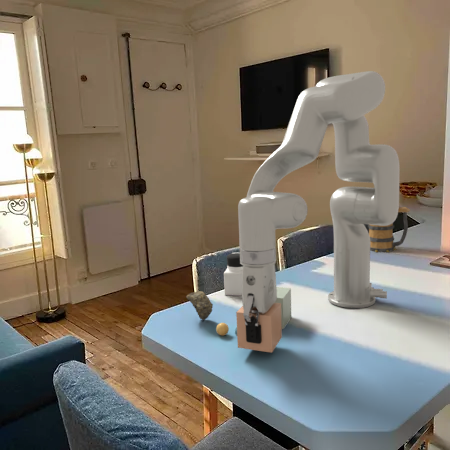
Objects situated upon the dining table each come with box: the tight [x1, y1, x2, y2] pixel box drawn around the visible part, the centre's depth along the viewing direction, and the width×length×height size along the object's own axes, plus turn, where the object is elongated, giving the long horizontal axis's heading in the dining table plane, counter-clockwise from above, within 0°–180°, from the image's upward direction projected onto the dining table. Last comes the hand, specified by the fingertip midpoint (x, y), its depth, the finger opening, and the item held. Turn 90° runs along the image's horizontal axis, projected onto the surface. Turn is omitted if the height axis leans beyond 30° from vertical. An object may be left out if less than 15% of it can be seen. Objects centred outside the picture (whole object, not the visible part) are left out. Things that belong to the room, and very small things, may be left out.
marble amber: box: [215, 322, 230, 336], centre depth 106 cm, size 3×3×3 cm
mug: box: [366, 206, 411, 253], centre depth 172 cm, size 13×17×20 cm
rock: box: [185, 290, 214, 321], centre depth 114 cm, size 7×8×4 cm
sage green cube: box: [275, 286, 292, 330], centre depth 112 cm, size 8×8×8 cm
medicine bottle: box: [223, 252, 243, 297], centre depth 135 cm, size 7×7×12 cm
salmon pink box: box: [235, 303, 283, 353], centre depth 96 cm, size 8×8×8 cm
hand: (259, 333), depth 97 cm, fingers closed on salmon pink box, 7 cm apart
